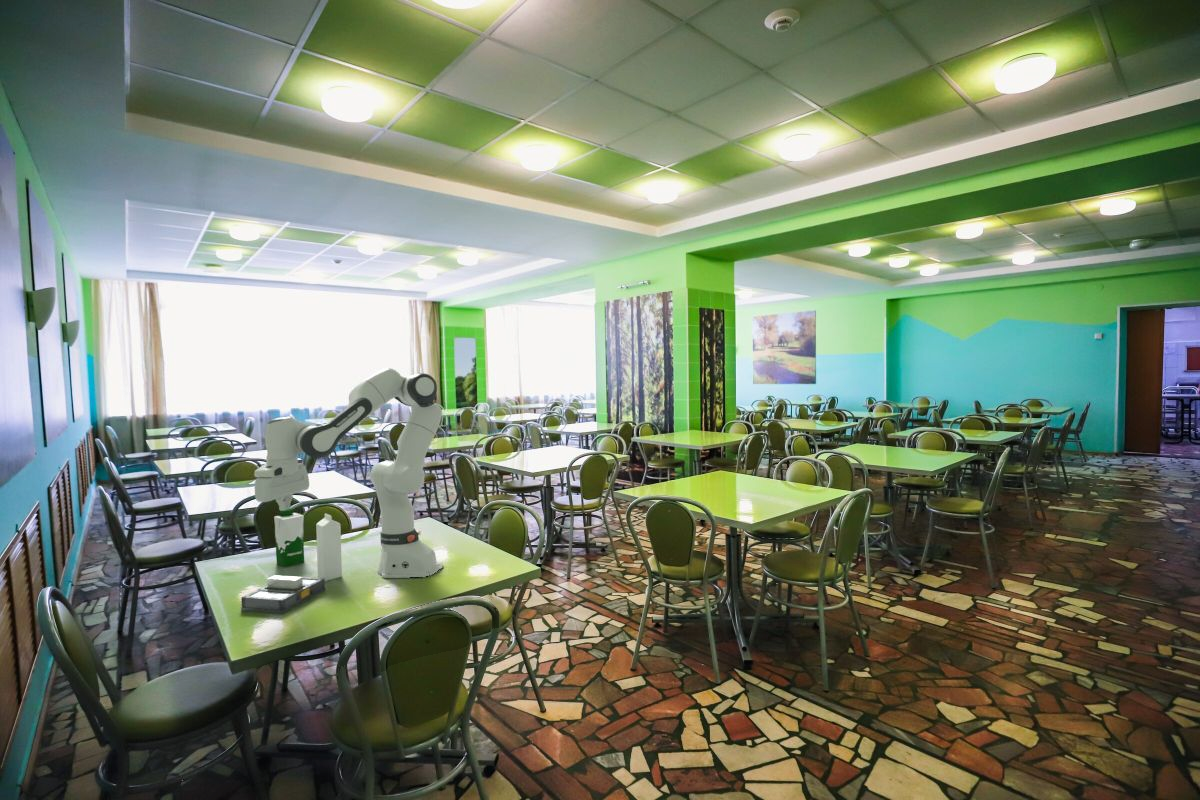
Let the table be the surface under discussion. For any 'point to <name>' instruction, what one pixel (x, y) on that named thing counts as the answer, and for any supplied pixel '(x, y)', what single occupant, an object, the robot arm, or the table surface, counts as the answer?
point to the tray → (282, 597)
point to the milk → (329, 548)
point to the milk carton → (289, 538)
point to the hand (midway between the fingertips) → (284, 509)
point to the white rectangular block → (284, 583)
